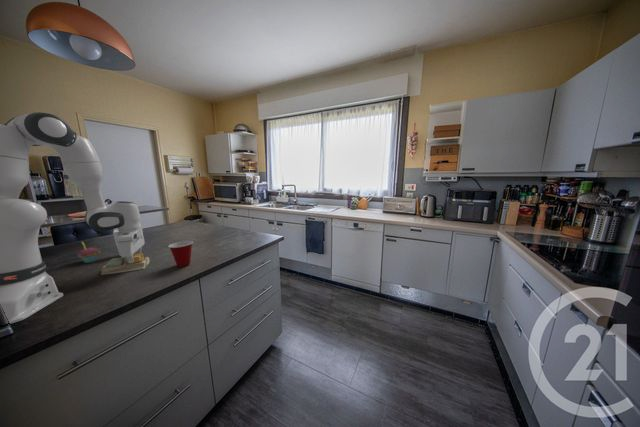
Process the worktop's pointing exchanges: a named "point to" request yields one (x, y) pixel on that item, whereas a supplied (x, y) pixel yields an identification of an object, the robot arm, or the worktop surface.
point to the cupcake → (88, 254)
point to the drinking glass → (115, 237)
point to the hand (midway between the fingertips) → (135, 259)
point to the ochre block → (137, 258)
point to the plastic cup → (181, 252)
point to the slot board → (122, 266)
